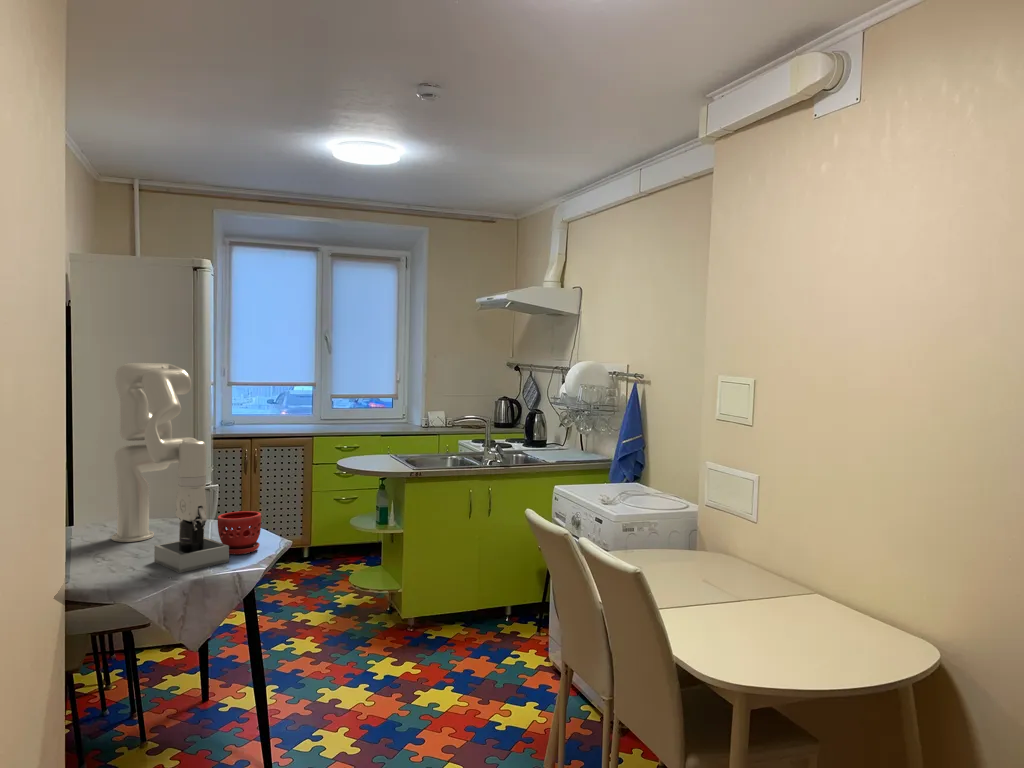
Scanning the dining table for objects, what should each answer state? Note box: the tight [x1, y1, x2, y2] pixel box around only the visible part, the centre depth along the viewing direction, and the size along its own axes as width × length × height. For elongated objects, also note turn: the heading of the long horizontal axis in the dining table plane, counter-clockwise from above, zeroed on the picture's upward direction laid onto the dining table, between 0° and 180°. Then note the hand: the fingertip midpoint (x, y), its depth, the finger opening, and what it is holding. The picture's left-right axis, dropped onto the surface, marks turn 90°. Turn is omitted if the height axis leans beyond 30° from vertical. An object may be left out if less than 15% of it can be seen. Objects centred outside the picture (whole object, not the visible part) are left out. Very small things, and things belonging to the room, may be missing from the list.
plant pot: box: [217, 510, 262, 555], centre depth 225 cm, size 13×13×12 cm
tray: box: [153, 536, 230, 574], centre depth 213 cm, size 16×15×5 cm
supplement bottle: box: [178, 517, 204, 553], centre depth 212 cm, size 7×7×12 cm
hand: (191, 539), depth 212 cm, fingers closed on supplement bottle, 6 cm apart
